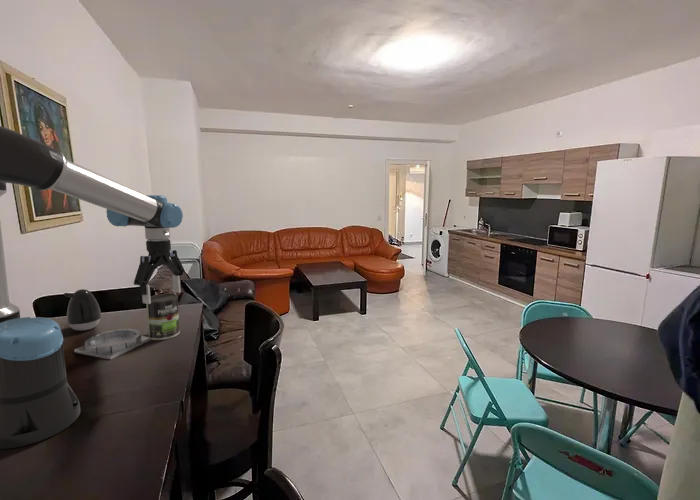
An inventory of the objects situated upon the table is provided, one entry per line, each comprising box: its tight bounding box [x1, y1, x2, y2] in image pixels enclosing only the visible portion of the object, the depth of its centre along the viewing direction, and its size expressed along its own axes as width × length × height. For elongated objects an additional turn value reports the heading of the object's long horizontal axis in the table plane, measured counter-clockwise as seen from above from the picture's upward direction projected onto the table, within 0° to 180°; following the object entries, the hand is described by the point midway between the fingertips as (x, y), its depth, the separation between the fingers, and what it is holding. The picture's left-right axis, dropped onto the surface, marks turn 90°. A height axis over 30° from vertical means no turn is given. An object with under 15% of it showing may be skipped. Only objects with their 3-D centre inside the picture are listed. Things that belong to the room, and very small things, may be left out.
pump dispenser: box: [63, 288, 102, 332], centre depth 127 cm, size 10×10×15 cm
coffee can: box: [145, 293, 180, 341], centre depth 123 cm, size 10×10×14 cm
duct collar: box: [74, 328, 152, 360], centre depth 114 cm, size 15×15×3 cm
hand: (162, 297), depth 122 cm, fingers open, 13 cm apart
